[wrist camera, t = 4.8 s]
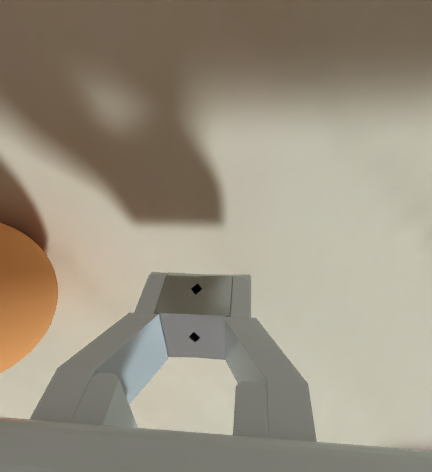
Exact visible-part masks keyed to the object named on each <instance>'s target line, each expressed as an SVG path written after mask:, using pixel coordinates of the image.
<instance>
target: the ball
mask: <svg viewBox="0 0 432 472" xmlns="http://www.w3.org/2000/svg"><path fill="white" fill-rule="evenodd" d="M57 299H58V286H57V279H56V275H55V271H54V268H53V266H52V264H51V262H50V260H49V259H48V257H47V255H46V254H45V253H44V251H43V250H42V249H41V248H40V247H39V246H38V245H37V244H36V243H35V242H34V241H33V240H32V239H31V238H29V237H28V236H26V235H25V234H24V233H22V232H20V231H18V230H16V229H15V228H13V227H10V226H8V225H5V224H2V223H0V373H1V372H3V371H5V370H7V369H8V368H10V367H12V366H13V365H15V364H16V363H17V362H19V361H20V360H22V359H23V358H24V357H25V356H26V355H27V354H28V353H29V352H31V351H32V350H33V348H34V347H35V346H36V345H37V344H38V343H39V342H40V340H41V339H42V337H43V336H44V335H45V333H46V331H47V330H48V328H49V326H50V324H51V322H52V319H53V316H54V314H55V310H56V306H57Z"/></svg>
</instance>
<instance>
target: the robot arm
mask: <svg viewBox="0 0 432 472" xmlns="http://www.w3.org/2000/svg"><path fill="white" fill-rule="evenodd" d="M168 357H198V358H210V359H222V360H226V362H227V364H228V366H229V368H230V369H231V371H232V373H233V375H234V377H235V379H236V381H237V383H238V385H237V386H236V393H235V410H234V426H233V435H223V434H210V433H198V432H185V431H172V430H159V429H146V428H138V427H137V424H136V422H135V419H134V417H133V414H132V411H131V409H130V406H129V404H130V403H131V402H132V401H133V399H134V398H135V397H136V396H137V395H138V394H139V392H140V391H141V390H142V389H143V388H144V386H145V385H146V384H147V383H148V382H149V381H150V379H151V378H152V377H153V376H154V375H155V374H156V372H157V371H158V370H159V369H160V368H161V366H162V365H163V364H164V363H165V362H166V361H167V359H168ZM0 472H432V451H427V450H414V449H402V448H389V447H376V446H363V445H350V444H337V443H324V442H317V441H316V434H315V428H314V421H313V414H312V407H311V401H310V394H309V387H308V383H307V382H306V381H305V380H304V378H303V377H302V376H301V374H300V373H299V372H298V371H297V369H296V368H295V367H294V366H293V364H292V363H291V362H290V360H289V359H288V358H287V357H286V355H285V354H284V353H283V352H282V350H281V349H280V348H279V347H278V345H277V344H276V343H275V341H274V340H273V339H272V338H271V336H270V335H269V334H268V333H267V331H266V330H265V329H264V327H263V326H262V325H261V324H260V322H259V321H258V320H257V319H256V318H251V276H250V275H218V274H186V273H160V272H152V273H151V274H150V275H149V276H148V279H147V281H146V284H145V286H144V289H143V291H142V294H141V297H140V299H139V302H138V304H137V307H136V309H135V312H134V313H128V314H127V315H126V316H124V317H123V318H122V319H120V320H119V321H118V322H117V323H115V324H114V325H113V326H111V327H110V328H109V329H108V330H106V331H105V332H104V333H102V334H101V335H100V336H98V337H97V338H96V339H95V340H93V341H92V342H91V343H89V344H88V345H87V346H86V347H84V348H83V349H82V350H80V351H79V352H78V353H77V354H75V355H74V356H73V357H71V358H70V359H69V360H67V361H66V362H65V363H64V364H62V365H61V366H60V367H58V368H57V370H56V372H55V374H54V376H53V377H52V379H51V381H50V383H49V385H48V387H47V388H46V390H45V392H44V394H43V396H42V398H41V399H40V401H39V403H38V405H37V407H36V408H35V410H34V412H33V414H32V416H31V418H30V419H17V418H5V417H0Z"/></svg>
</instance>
